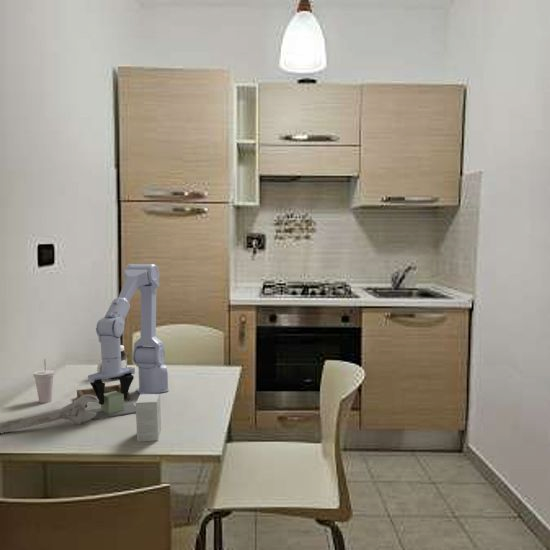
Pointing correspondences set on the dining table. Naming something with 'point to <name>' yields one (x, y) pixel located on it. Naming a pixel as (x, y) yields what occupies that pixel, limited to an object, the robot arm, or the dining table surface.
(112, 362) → the robot arm
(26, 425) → the wrench
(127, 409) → the mat
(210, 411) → the dining table surface
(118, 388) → the wooden u-shaped frame
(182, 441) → the dining table surface
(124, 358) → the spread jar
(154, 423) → the small box
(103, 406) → the cube
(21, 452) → the dining table surface
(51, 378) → the smoothie
